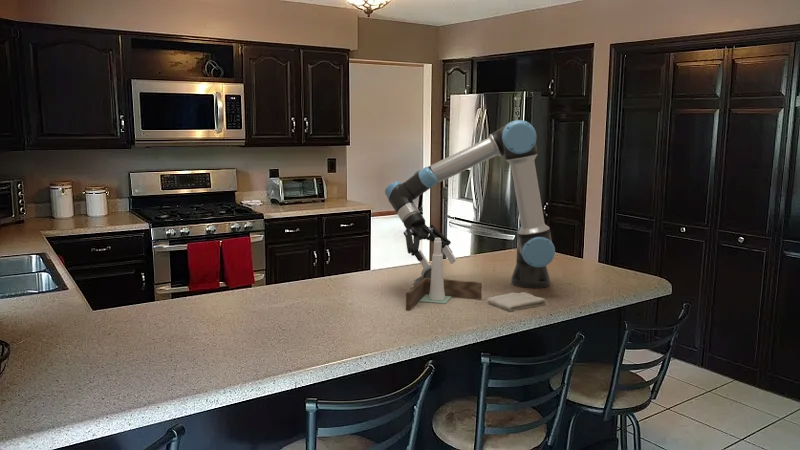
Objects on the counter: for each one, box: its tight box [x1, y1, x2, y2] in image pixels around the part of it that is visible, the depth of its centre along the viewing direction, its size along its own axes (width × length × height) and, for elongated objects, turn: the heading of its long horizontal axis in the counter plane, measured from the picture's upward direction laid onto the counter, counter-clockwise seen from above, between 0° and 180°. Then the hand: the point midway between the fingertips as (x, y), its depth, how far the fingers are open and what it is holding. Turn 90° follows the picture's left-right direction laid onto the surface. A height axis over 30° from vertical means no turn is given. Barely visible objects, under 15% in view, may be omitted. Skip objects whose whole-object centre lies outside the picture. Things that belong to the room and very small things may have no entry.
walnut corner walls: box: [405, 278, 483, 311], centre depth 214 cm, size 22×22×6 cm
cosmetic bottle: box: [429, 238, 445, 300], centre depth 219 cm, size 6×6×22 cm
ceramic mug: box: [413, 264, 432, 285], centre depth 241 cm, size 11×8×8 cm
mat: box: [418, 294, 453, 305], centre depth 220 cm, size 10×10×1 cm
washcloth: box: [486, 291, 546, 312], centre depth 215 cm, size 12×18×3 cm, turn 123°
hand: (440, 264), depth 217 cm, fingers open, 13 cm apart
